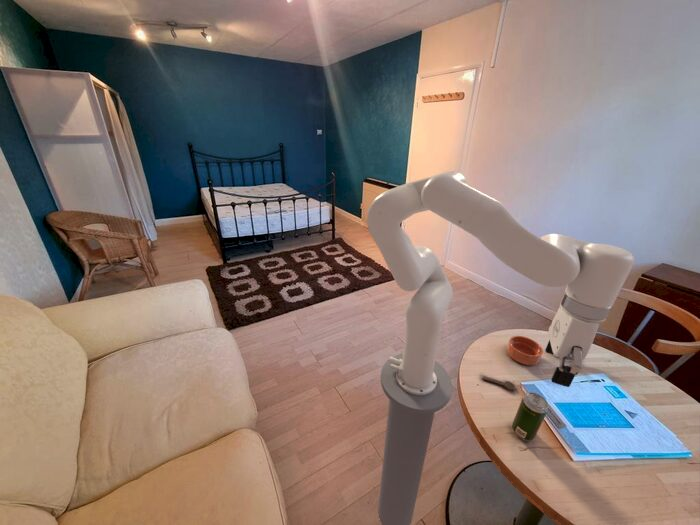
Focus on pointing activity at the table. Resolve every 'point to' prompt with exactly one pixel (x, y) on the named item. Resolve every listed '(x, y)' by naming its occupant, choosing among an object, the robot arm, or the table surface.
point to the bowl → (524, 350)
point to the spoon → (501, 383)
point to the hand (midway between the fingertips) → (556, 367)
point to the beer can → (530, 416)
